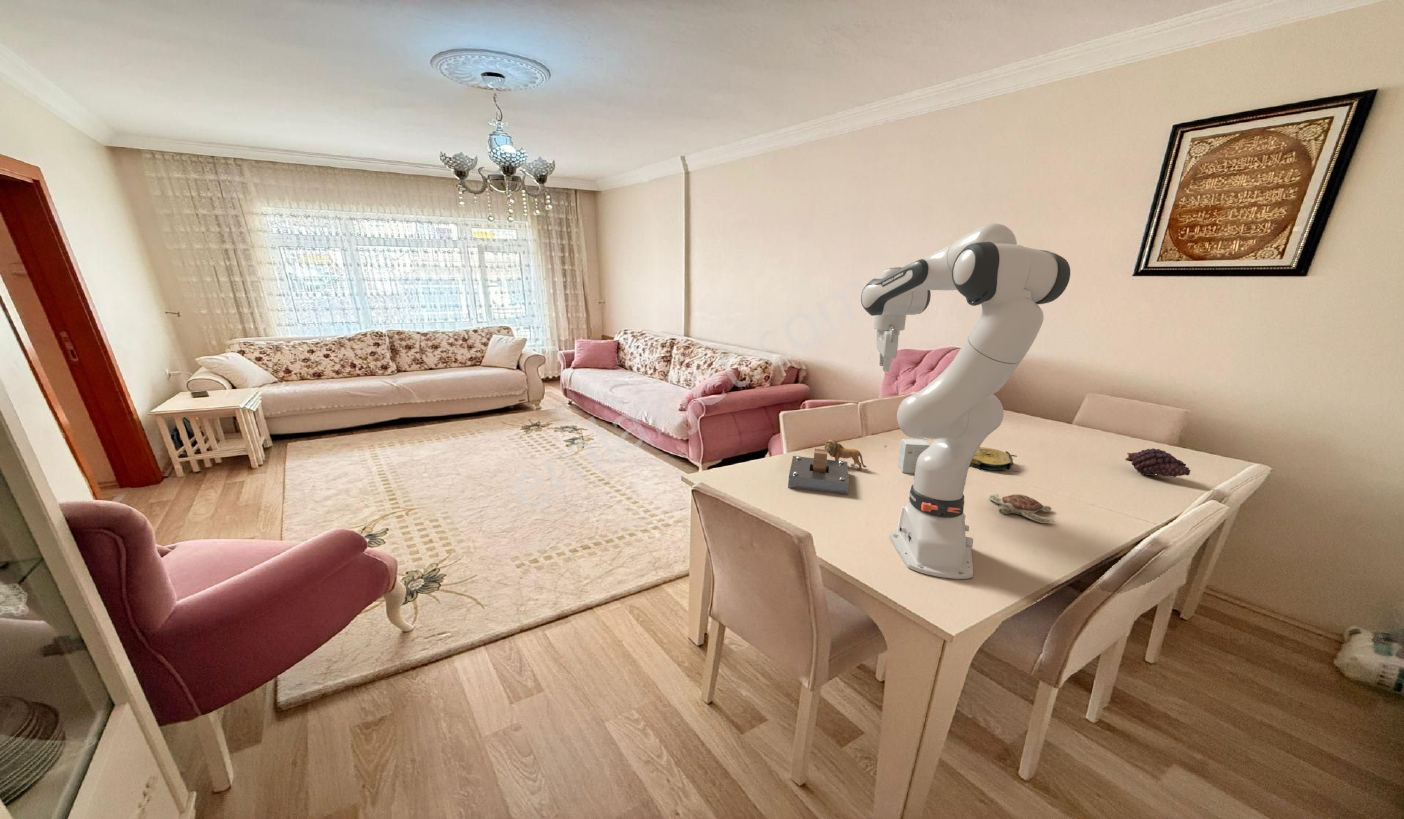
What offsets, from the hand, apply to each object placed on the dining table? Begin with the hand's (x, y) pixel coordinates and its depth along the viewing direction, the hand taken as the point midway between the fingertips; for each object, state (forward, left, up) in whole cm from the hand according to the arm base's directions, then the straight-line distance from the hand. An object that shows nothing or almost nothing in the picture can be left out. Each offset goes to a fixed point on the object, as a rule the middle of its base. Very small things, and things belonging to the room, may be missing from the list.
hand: (884, 368), depth 153 cm
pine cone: (+30, -94, -37) cm, 106 cm away
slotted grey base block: (-7, +17, -37) cm, 41 cm away
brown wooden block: (-7, +17, -37) cm, 41 cm away
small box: (+11, -14, -37) cm, 41 cm away
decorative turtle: (-12, -40, -37) cm, 56 cm away
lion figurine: (+8, +9, -37) cm, 39 cm away
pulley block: (+27, -36, -37) cm, 58 cm away
